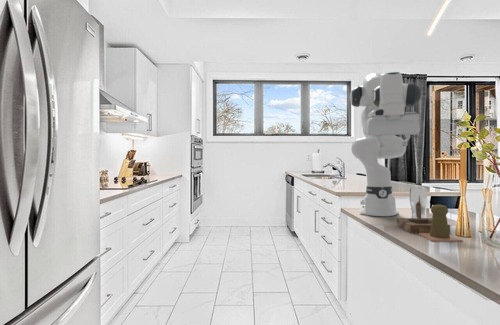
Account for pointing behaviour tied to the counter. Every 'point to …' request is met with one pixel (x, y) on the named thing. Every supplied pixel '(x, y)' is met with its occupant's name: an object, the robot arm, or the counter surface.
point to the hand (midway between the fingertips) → (392, 146)
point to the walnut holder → (416, 224)
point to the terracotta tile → (433, 239)
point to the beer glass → (418, 201)
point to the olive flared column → (439, 222)
